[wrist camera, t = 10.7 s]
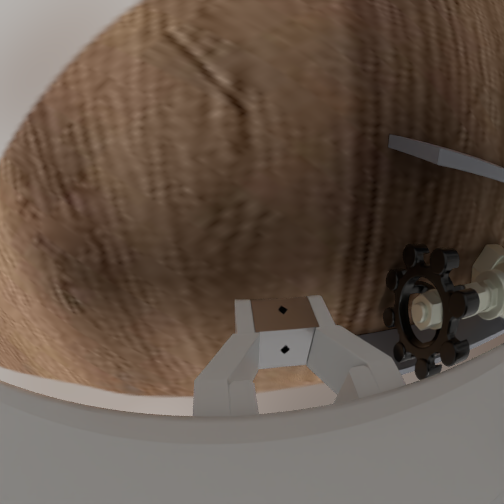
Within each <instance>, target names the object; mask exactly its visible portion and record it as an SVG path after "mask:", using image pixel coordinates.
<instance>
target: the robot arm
mask: <svg viewBox="0 0 504 504" xmlns="http://www.w3.org/2000/svg"><path fill="white" fill-rule="evenodd" d="M296 365H306V366H307V367H308V368H309V369H310V370H311V371H313V372H314V373H315V374H316V375H317V376H318V377H319V378H320V379H321V380H322V381H323V382H324V383H325V384H326V385H327V386H329V387H330V388H331V389H332V390H333V391H334V392H335V393H336V394H337V397H336V399H335V401H334V403H333V404H330V405H325V406H319V407H313V408H307V409H301V410H293V411H286V412H277V413H267V414H259V412H258V406H257V399H256V392H255V385H254V383H253V382H252V381H253V379H254V377H255V375H256V374H257V372H258V369H266V368H275V367H284V366H296ZM0 504H504V343H503V344H501V345H499V346H497V347H495V348H493V349H491V350H490V351H488V352H486V353H483V354H481V355H479V356H477V357H475V358H473V359H471V360H469V361H467V362H465V363H462V364H460V365H458V366H455V367H453V368H451V369H448V370H446V371H443V372H441V373H438V374H436V375H433V376H430V377H428V378H425V379H422V380H420V381H416V382H413V383H411V384H407V385H406V383H405V381H404V379H403V378H402V376H401V374H400V372H399V370H398V368H397V366H396V364H395V363H394V361H393V359H392V358H391V357H390V356H388V355H387V354H385V353H383V352H382V351H380V350H378V349H377V348H375V347H374V346H372V345H370V344H369V343H367V342H366V341H364V340H362V339H361V338H359V337H358V336H356V335H354V334H353V333H351V332H350V331H348V330H347V329H345V328H343V327H342V326H340V325H335V323H334V321H333V319H332V317H331V315H330V313H329V311H328V309H327V306H326V304H325V302H324V300H323V298H322V296H320V295H313V296H306V297H294V298H276V299H250V300H249V299H246V300H235V334H232V335H231V337H230V338H229V339H228V340H227V341H226V343H225V344H224V345H223V346H222V348H221V349H220V350H219V351H218V353H217V354H216V355H215V356H214V358H213V359H212V360H211V361H210V362H209V364H208V365H207V366H206V367H205V368H204V370H203V371H202V372H201V373H200V374H199V376H198V377H197V378H196V379H195V380H194V401H193V416H171V415H155V414H143V413H134V412H126V411H118V410H111V409H104V408H99V407H93V406H88V405H83V404H78V403H74V402H69V401H65V400H60V399H57V398H53V397H49V396H46V395H42V394H39V393H35V392H32V391H29V390H26V389H23V388H20V387H16V386H14V385H11V384H8V383H5V382H3V381H0Z"/></svg>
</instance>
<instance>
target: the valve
mask: <svg viewBox="0 0 504 504" xmlns="http://www.w3.org/2000/svg"><path fill="white" fill-rule="evenodd" d="M427 253H429V249H428V247H427V246H426V245H425V244H408V245H406V246H405V248H404V251H403V260H404V263H405V264H406V266H407V270H406V269H395V270H390V271H389V272H388V274H387V278H386V284H387V287H388V288H389V289H390V290H391V291H394V293H395V305H394V307H389V308H386V309H385V310H384V313H383V321H384V324H385V325H386V326H387V327H388V328H391V327H396V328H397V330H398V334H399V342H397V343H396V344H395V345H394V348H393V355H394V358H395V360H396V361H397V362H399V363H401V362H405V361H408V360H411V359H414V358H415V357H416V359H417V362H416V364H415V374H416V376H417V378H418V379H419V380H422V379H425V378H428V377H430V376H433V375H436V374H438V373H440V371H441V368H442V365H435V357H436V355H438V354H440V358H441V361H442V363H443V364H444V365H446V366H452V365H455V364H457V363H459V362H461V361H464V360H465V359H466V358H467V357H468V355H469V351H470V346H469V342H468V340H467V339H465V340H463V341H460V340H458V339H457V338H456V337H455V335H456V332H457V328H458V323H459V320H460V319H465V318H468V317H471V316H474V315H476V314H478V315H479V316H480V317H481V318H482V319H485V320H492V319H494V318H497V317H499V316H500V317H502V318H503V319H504V248H503V247H501V246H500V245H499V244H487V245H486V246H485V247H484V249H483V250H482V252H481V254H480V255H479V257H478V258H477V260H476V261H475V263H474V264H473V266H472V279H471V283H469V284H464V285H457V286H454V285H453V283H452V281H451V279H450V278H449V276H448V275H449V273H450V271H451V270H452V268H458V267H459V255H458V253H457V251H456V250H455V249H454V248H436V249H435V250H433V252H432V253H431V256H430V264H426V263H425V262H424V259H423V255H424V254H427ZM421 277H424V278H427V279H428V280H429V281H431V282H432V283H433V285H434V286H435V287H436V289H435V288H434V287H433V286H432V285H430V284H428V283H426V282H423V281H418V279H419V278H421ZM413 293H421V294H420V295H419V296H417V297H416V298H415V299H414V300H413V302H412V309H411V314H412V320H413V322H414V324H415V325H416V326H417V327H418V328H419V329H420V330H425V329H429V328H430V329H433V330H436V333H435V336H434V338H433V339H432V340H431V341H429V342H425V343H422V342H421V341H420V340H419V339H418V338H417V337H416V336H415V334H414V332H413V330H412V328H411V324H410V321H409V315H408V301H409V296H410V294H413Z"/></svg>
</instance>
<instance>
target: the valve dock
mask: <svg viewBox="0 0 504 504" xmlns="http://www.w3.org/2000/svg"><path fill="white" fill-rule="evenodd" d="M388 147H389V148H392V149H395V150H398V151H401V152H404V153H407V154H410V155H413V156H415V157H418V158H421V159H424V160H426V161H429V162H432V163H434V164H437V165H441V166H445V167H450V168H454V169H458V170H462V171H466V172H470V173H474V174H477V175H481V176H484V177H488V178H491V179H494V180H498V181H501V182H504V167H501V166H499V165H496V164H493V163H491V162H488V161H485V160H483V159H480V158H477V157H474V156H471V155H468V154H465V153H462V152H459V151H455V150H452V149H449V148H445V147H442V146H438V145H434V144H430V143H427V142H423V141H418V140H414V139H410V138H405V137H401V136H396V135H391V134H389V144H388ZM411 328H412V330H413V332H414V334H415V336H416V337H417V338H418V339H419V340H420V341H421V342H422V343H425V342H429V341H431V340H432V339H433V338H434V336H435V333H436V330H433V329H430V328H429V329H425V330H420V329H419V328H418V327H417V326H416V325H411ZM503 333H504V319H503V318H502V317H500V316H499V317H497V318H494V319H492V320H485V319H482V318H481V317H480V316H479V315H478V314H476V315H474V316H471V317H468V318H465V319H460V320H459V323H458V328H457V332H456V335H455V337H456V338H457V339H458V340H460V341H463V340H465V339H467V340H468V342H469V346H470V349H472V348H474V347H477V346H479V345H481V344H483V343H485V342H487V341H489V340H492V339H494V338H495V337H497V336H499V335H501V334H503ZM358 337H359V338H361V339H362V340H364V341H366V342H367V343H369V344H370V345H372V346H374V347H375V348H377V349H378V350H380V351H382V352H383V353H385V354H387V355H388V356H390V357H391V358H392V359H393V361H394V363H395V364H396V366H397V368H398V370H399V372H400V374H401V375H403V374H406V373H409V372H412V371H415V364H416V362H417V359H416V357H415V358H414V359H411V360H408V361H405V362H401V363H399V362H397V361H396V360H395V358H394V355H393V348H394V345H395V344H396V343H397V342H399V334H398V330H397V328H396V329H392V330H387V331H381V332H376V333H370V334H365V335H359V336H358ZM438 362H441V358H440V354H438V355H436V357H435V363H438Z"/></svg>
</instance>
